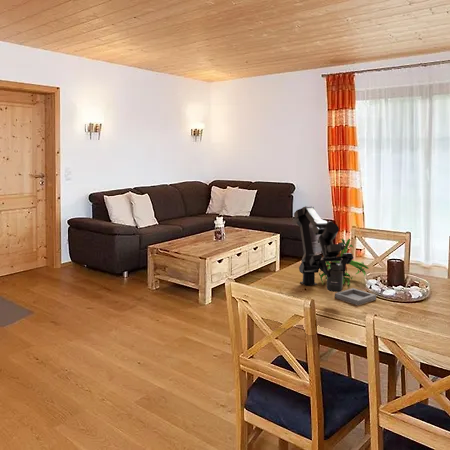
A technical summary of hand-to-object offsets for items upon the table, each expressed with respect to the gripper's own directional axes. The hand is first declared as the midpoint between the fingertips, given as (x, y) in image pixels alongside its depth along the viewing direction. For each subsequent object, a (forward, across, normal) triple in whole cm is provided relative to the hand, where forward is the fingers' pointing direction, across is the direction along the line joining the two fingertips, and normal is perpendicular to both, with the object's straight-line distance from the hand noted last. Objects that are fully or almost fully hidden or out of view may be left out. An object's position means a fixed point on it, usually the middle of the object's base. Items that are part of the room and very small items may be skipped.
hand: (336, 276), depth 195 cm
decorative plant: (-15, +19, +34) cm, 42 cm away
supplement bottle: (+4, 0, +6) cm, 7 cm away
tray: (+5, +12, +14) cm, 19 cm away
